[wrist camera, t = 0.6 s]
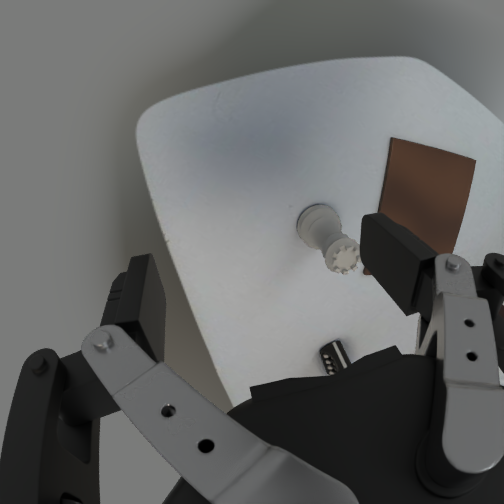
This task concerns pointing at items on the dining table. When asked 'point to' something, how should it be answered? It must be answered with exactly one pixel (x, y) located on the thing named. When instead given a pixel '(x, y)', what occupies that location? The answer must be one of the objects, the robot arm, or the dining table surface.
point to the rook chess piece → (329, 238)
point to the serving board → (426, 192)
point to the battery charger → (334, 358)
